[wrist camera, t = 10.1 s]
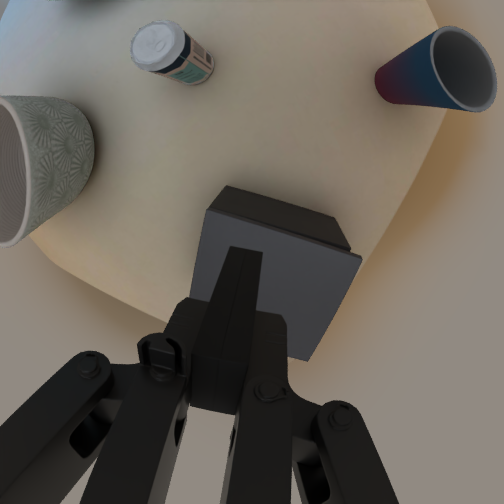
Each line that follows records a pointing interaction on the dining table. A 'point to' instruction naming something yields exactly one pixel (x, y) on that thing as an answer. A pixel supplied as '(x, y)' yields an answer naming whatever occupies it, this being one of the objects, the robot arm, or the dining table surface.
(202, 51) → the beer can
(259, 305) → the dark grey square slab
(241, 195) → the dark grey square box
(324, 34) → the dining table surface
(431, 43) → the cup
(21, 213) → the planter
